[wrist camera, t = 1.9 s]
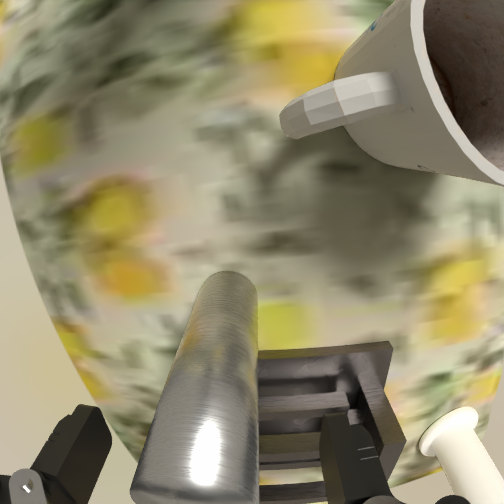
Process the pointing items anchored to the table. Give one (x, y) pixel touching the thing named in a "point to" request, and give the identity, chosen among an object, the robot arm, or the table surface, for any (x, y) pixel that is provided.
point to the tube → (208, 406)
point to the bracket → (321, 410)
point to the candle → (463, 457)
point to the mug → (419, 90)
